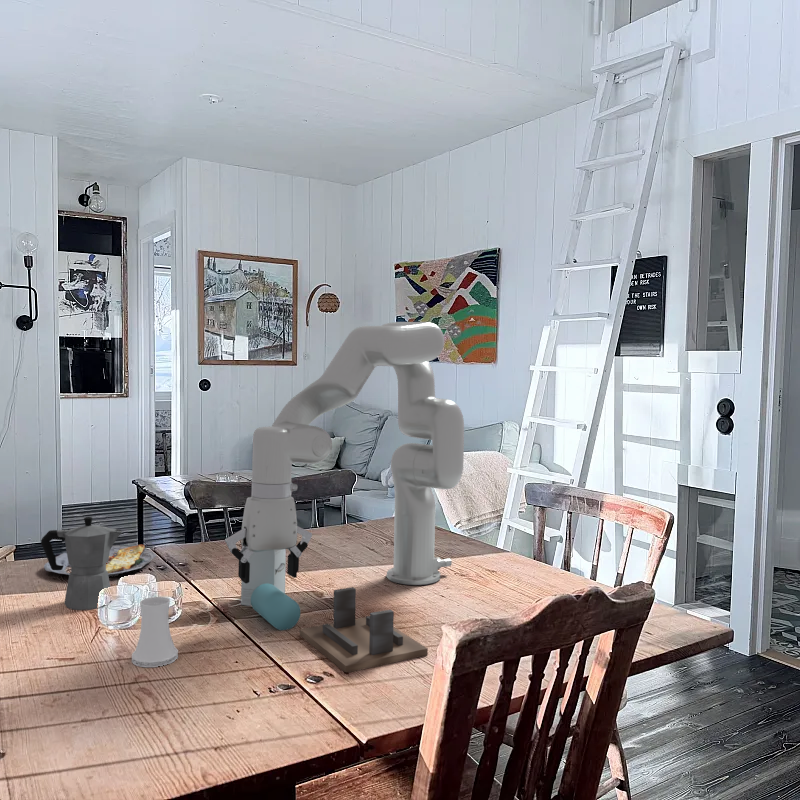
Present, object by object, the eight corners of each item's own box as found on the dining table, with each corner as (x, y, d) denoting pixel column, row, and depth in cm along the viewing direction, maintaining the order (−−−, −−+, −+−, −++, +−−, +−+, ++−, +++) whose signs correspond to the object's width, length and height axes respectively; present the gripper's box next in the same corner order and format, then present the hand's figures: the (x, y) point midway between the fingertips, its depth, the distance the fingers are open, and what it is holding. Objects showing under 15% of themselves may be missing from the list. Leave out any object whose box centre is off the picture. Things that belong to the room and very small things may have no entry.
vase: (152, 671, 127) (152, 611, 126) (122, 661, 131) (121, 602, 130) (187, 656, 133) (187, 599, 132) (157, 647, 137) (157, 591, 136)
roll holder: (375, 621, 152) (376, 580, 151) (427, 655, 136) (428, 609, 135) (299, 635, 144) (300, 592, 143) (345, 673, 127) (346, 624, 127)
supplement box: (273, 608, 158) (274, 547, 158) (240, 605, 160) (240, 545, 159) (286, 597, 166) (286, 539, 165) (253, 594, 167) (254, 536, 166)
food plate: (77, 551, 199) (77, 537, 199) (167, 554, 198) (167, 541, 198) (28, 583, 174) (28, 567, 174) (130, 587, 173) (130, 571, 173)
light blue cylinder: (247, 611, 154) (255, 581, 155) (274, 614, 157) (282, 585, 158) (267, 628, 145) (275, 597, 145) (295, 632, 148) (304, 601, 148)
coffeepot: (122, 593, 166) (122, 510, 165) (123, 607, 157) (122, 519, 156) (43, 600, 161) (43, 514, 160) (39, 614, 152) (38, 524, 151)
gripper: (304, 485, 157) (302, 569, 157) (221, 490, 148) (219, 578, 149) (320, 491, 150) (317, 578, 151) (234, 496, 141) (231, 589, 142)
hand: (268, 578), depth 150 cm, fingers open, 9 cm apart
